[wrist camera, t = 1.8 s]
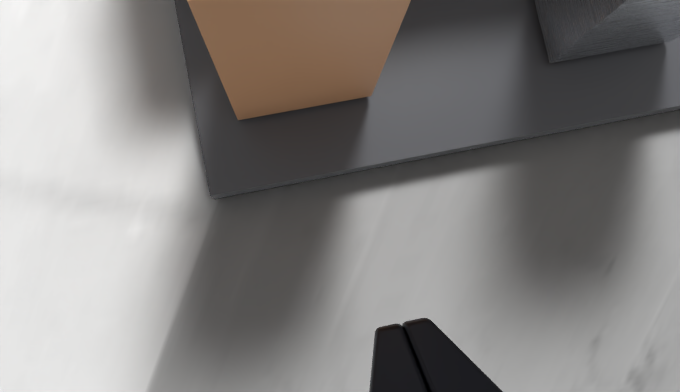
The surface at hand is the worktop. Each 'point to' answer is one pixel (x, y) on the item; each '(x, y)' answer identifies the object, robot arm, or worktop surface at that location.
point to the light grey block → (605, 25)
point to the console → (428, 97)
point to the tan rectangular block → (297, 49)
